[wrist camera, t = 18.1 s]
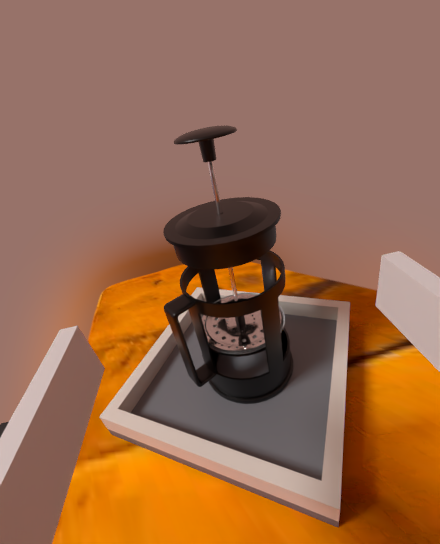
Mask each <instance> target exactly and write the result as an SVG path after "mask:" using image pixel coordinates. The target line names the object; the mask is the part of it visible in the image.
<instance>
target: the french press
mask: <svg viewBox="0 0 440 544" xmlns="http://www.w3.org/2000/svg"><path fill="white" fill-rule="evenodd" d="M236 131H237V129H236V128H235V127H231V126H214V127H207V128H203V129H198V130H195V131H191V132H188V133H186V134H183V135H182V136H180V137H178V138H177V139H176V140H175V141H174V144H188V143H194V142H199V146H200V150H201V153H202V158H203V162H208V167H209V172H210V177H211V182H212V188H213V193H214V198H215V201H213V202H208V203H205V204H202V205H198V206H196V207H193V208H190V209H188V210H186V211H184V212H182V213H180V214H178V215H177V216H175V217H174V218H172V219H171V220H170V221H169V222H168V223H167V224H166V226H165V228H164V236H165V238H166V240H167V241H168V242H169V243H170V244H172V245H174V248H175V251H176V255H177V257H178V259H179V261H181V262H182V263H183V264H185V265H187V266H188V267H187V268H186V269H185V270H184V272H183V273H182V275H181V279H180V287H181V290H182V293H183V295H181V296H179V297H177V298H175V299H174V300H172V301H170V302H168V303H167V304H166V305H165V306H164V311H165V313H166V316H167V319H168V321H169V324H170V327H171V330H172V332H173V335H174V338H175V340H176V343H177V346H178V348H179V351H180V354H181V356H182V359H183V362H184V364H185V367H186V370H187V372H188V375H189V377H190V378H191V379H192V380H193V381H194V383H195V384H196V385H197V386H198V387H202V386H203V385H204V384H206V383H207V382H209V384H210V385H211V387H212V388H213V390H214V391H215V392H216V393H218V394H219V395H220V396H221V397H223V398H225V399H227V400H229V401H232V402H235V403H241V404H253V403H259V402H263V401H266V400H268V399H270V398H272V397H274V396H276V395H277V394H278V393H280V392H281V391H282V390H283V389H284V388H285V387H286V385H287V384H288V382H289V380H290V378H291V376H292V372H293V357H292V353H291V351H290V340H289V336H288V333H287V331H286V329H285V328H284V324H285V315H284V311H283V310H282V308H281V306H280V305H279V301H278V297H279V296H280V294H281V293H282V292H283V289H284V287H285V267H284V264H283V261H282V260H281V258H280V257H279V256H278V255H277V254H275V253H274V252H272V251H270V249H271V248H272V247H273V246H274V244H275V242H276V226H275V225H276V224H277V223H278V221H279V219H280V216H281V215H280V214H281V210H280V208H279V206H278V205H277V204H275V203H274V202H271V201H269V200H266V199H261V198H250V197H245V198H244V197H243V198H230V199H223V200H220V199H219V193H218V188H217V183H216V177H215V172H214V166H213V161H214V160H216V154H215V146H214V140H213V139H214V138H218V137H222V136H225V135H228V134H231V133H234V132H236ZM255 259H257V260H261V266H262V274H263V282H264V292H262V293H260V294H255V293H239V294H237V289H236V284H235V279H234V273H233V268H232V267H235V266H239V265H242V264H245V263H248V262H251V261H253V260H255ZM275 267H276V268H277V269H278V270H279V271H280V273H281V275H280V277H279V279H278V280H277V279H276V268H275ZM223 268H228V269H229V275H230V280H231V285H232V290H233V295H229V296H226V297H223V298H221V297H220V293H219V288H218V284H217V279H216V275H215V271H214V269H223ZM198 273H199V276H200V280H201V284H202V288H203V291H204V295H205V299H206V302H205V301H201V300H198V299H195V298H194V297H192V296H190V295H189V294H188V293H187V292H186V289H187V286H188V284H189V282H190V281H191V279H192V278H193V277H194V276H195V275H196V274H198ZM187 310H189V313H190V316H191V319H192V323H193V326H194V329H195V332H196V335H197V339H198V342H199V345H200V348H201V351H202V357H203V360H204V363H205V364H203V365H202V366H201V367H199V368H198V369H197V370H196V369H195V366H194V364H193V361H192V358H191V355H190V352H189V349H188V346H187V343H186V340H185V338H184V335H183V332H182V329H181V326H180V323H179V320H178V316H179V315H180V314H182V313H184V312H185V311H187ZM200 314H202V315H200ZM264 350H266V355H267V362H268V370H269V371H268V372H266V373H264V374H262V375H259V376H255V377H252V378H232V377H228V376H225V375H222V374H220V373H218V370H217V361H218V358H219V356H220V354H221V355H225V356H233V357H241V356H249V355H253V354H257V353H260V352H262V351H264Z"/></svg>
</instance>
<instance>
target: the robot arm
mask: <svg viewBox="0 0 440 544" xmlns="http://www.w3.org/2000/svg"><path fill="white" fill-rule="evenodd" d="M376 307H377V308H378V309H379V310H380V311H381V312H382V313H383V314H384V315H385V316H386V317H387V318H388V319H389V320H390V321H391V322H392V323H393V324H394V325H395V326H396V327H397V328H398V329H399V331H400V332H401V333H402V334H403V335H404V336H405V337H406V338H407V339H408V340H409V341H410V342H411V343H412V344H413V345H414V346H415V347H416V348H417V349H418V350H419V351H420V352H421V353H422V354H423V355H424V356H425V357H426V358H427V359H428V360H429V361H430V362H431V363H432V364H433V366H434V367H435V368H436V369H437V370H438V371H439V372H440V278H439V277H438V276H436V275H435V274H433V273H432V272H430V271H429V270H427V269H426V268H424V267H423V266H421V265H420V264H418V263H416V262H415V261H414V260H412V259H411V258H409V257H408V256H406V255H405V254H403V253H402V252H400V251H399V252H394V253H389V254H385V255H382V258H381V266H380V274H379V282H378V290H377V298H376ZM104 369H105V368H104V367H103V365H102V363H101V362H100V360H99V359H98V357H97V356H96V354H95V352H94V351H93V349H92V348H91V346H90V344H89V343H88V341H87V340H86V338H85V337H84V335H83V333H82V332H81V330H80V329H79V327H78V326H74V327H70V328H66V329H61V330H60V331H59V332H58V334H57V336H56V338H55V340H54V342H53V344H52V345H51V347H50V349H49V351H48V352H47V354H46V356H45V358H44V360H43V361H42V363H41V365H40V367H39V369H38V370H37V373H36V374H35V376H34V378H33V379H32V381H31V383H30V385H29V387H28V389H27V391H26V392H25V394H24V396H23V398H22V399H21V401H20V403H19V405H18V407H17V408H16V410H15V412H14V414H13V416H12V417H11V419H10V421H9V422H6V423H2V424H1V425H0V544H52V541H53V538H54V535H55V531H56V528H57V525H58V521H59V518H60V515H61V512H62V508H63V505H64V502H65V498H66V495H67V492H68V488H69V485H70V482H71V478H72V475H73V472H74V468H75V465H76V462H77V458H78V455H79V452H80V448H81V445H82V442H83V438H84V435H85V432H86V428H87V425H88V422H89V418H90V415H91V412H92V408H93V405H94V402H95V398H96V395H97V392H98V389H99V385H100V382H101V379H102V375H103V372H104Z"/></svg>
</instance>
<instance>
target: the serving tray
mask: <svg viewBox="0 0 440 544" xmlns="http://www.w3.org/2000/svg"><path fill="white" fill-rule="evenodd" d="M219 293H220V297H221V298H223V297H226V296H229V295H233V291H230V290H219ZM239 293H251V292H240V291H237V294H239ZM255 294H260V293H255ZM191 296H192V297H194V298H195V299H198V300H201V301H205V302H206V299H205V295H204V291H203V288H199V287H197V288H196V290H195V291H194V292H193V294H192V295H191ZM278 301H279V305H280V306H281V308H282V310H283V311H284V315H285V324H284V328H285V329H286V331H287V333H288V336H289V340H290V351H291V353H292V357H293V372H292V376H291V378H290V380H289V382H288V384H287V385H286V387H285V388H284V389H283V390H282V391H281V392H280V393H278V394H277V395H276V396H274V397H272V398H270V399H268V400H266V401H263V402H259V403H253V404H241V403H235V402H232V401H229V400H227V399H225V398H223V397H221V396H220V395H219V394H218V393H216V392H215V391H214V390H213V388H212V387H211V385H210V384H209V382H207V383H206V384H204V385H203V386H202V387H198V386H197V385H196V384H195V383H194V381H193V380H192V379H191V378H190V377H189V375H188V372H187V370H186V367H185V364H184V362H183V359H182V356H181V354H180V351H179V348H178V346H177V343H176V340H175V338H174V335H173V332H172V330H171V327H170V324H169V325H168V327H167V328H166V329H165V331H164V332H163V333H162V335H161V336H160V337H159V339H158V340H157V341H156V343H155V344H154V345H153V347H152V348H151V349H150V351H149V352H148V353H147V355H146V356H145V357H144V359H143V360H142V361H141V363H140V364H139V365H138V367H137V368H136V369H135V370H134V372H133V373H132V374H131V376H130V377H129V378H128V380H127V381H126V382H125V384H124V385H123V386H122V388H121V389H120V390H119V392H118V393H117V394H116V396H115V397H114V398H113V400H112V401H111V402H110V404H109V405H108V406H107V408H106V409H105V410H104V412H103V413H102V414H101V416H100V419H101V420H102V422H103V423H104V424H105V426H106V427H107V429H108V430H109V431H110V433H111V434H112V435H114V436H117V437H119V438H121V439H124V440H126V441H129V442H131V443H134V444H136V445H139V446H141V447H143V448H146V449H148V450H151V451H153V452H156V453H158V454H160V455H163V456H165V457H168V458H170V459H173V460H175V461H178V462H180V463H182V464H185V465H187V466H190V467H192V468H195V469H197V470H199V471H202V472H204V473H207V474H209V475H212V476H214V477H216V478H219V479H221V480H224V481H226V482H229V483H231V484H234V485H236V486H238V487H241V488H243V489H246V490H248V491H251V492H253V493H255V494H258V495H260V496H263V497H265V498H268V499H270V500H272V501H275V502H277V503H280V504H282V505H285V506H287V507H290V508H292V509H294V510H297V511H299V512H302V513H304V514H307V515H309V516H311V517H314V518H316V519H319V520H321V521H324V522H326V523H329V524H331V525H333V526H336V527H338V526H339V516H340V503H341V482H342V461H343V440H344V420H345V399H346V378H347V357H348V336H349V316H350V302H345V301H334V300H324V299H313V298H303V297H293V296H282V295H280V296H279V297H278ZM200 315H202V314H200ZM178 320H179V323H180V326H181V329H182V332H183V335H184V338H185V340H186V343H187V346H188V349H189V352H190V355H191V358H192V361H193V364H194V366H195V369H196V370H197V369H198V368H199V367H201V366H202V365H203V364H205V363H204V360H203V357H202V351H201V348H200V345H199V342H198V339H197V335H196V332H195V329H194V326H193V323H192V319H191V316H190V313H189V310H187V311H185V312H184V313H182V314H180V315H179V316H178ZM217 370H218V373H220V374H222V375H225V376H228V377H232V378H252V377H255V376H259V375H262V374H264V373H266V372H268V371H269V370H268V362H267V355H266V350H264V351H262V352H260V353H257V354H253V355H249V356H241V357H233V356H225V355H221V354H220V356H219V358H218V361H217Z"/></svg>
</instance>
